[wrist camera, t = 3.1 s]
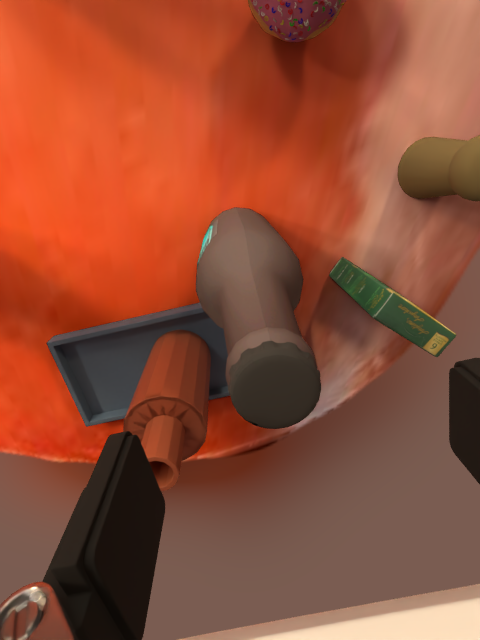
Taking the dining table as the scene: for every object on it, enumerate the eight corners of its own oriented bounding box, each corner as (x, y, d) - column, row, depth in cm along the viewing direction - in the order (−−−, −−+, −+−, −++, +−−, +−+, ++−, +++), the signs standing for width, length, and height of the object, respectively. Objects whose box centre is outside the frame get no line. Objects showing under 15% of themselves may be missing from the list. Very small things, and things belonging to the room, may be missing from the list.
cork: (421, 210, 40) (489, 223, 30) (385, 172, 39) (445, 172, 28) (465, 165, 39) (553, 163, 28) (430, 123, 37) (510, 105, 27)
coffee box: (394, 290, 44) (461, 336, 31) (378, 309, 44) (438, 361, 32) (342, 254, 42) (392, 288, 30) (326, 275, 42) (369, 316, 30)
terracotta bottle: (161, 386, 46) (125, 517, 29) (143, 336, 44) (92, 448, 26) (216, 374, 46) (214, 499, 29) (202, 323, 44) (189, 427, 26)
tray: (91, 417, 48) (86, 426, 46) (53, 335, 44) (46, 343, 42) (300, 371, 47) (303, 379, 45) (283, 283, 43) (286, 288, 41)
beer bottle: (193, 221, 39) (128, 341, 12) (259, 195, 39) (356, 258, 11) (219, 284, 42) (215, 500, 15) (281, 260, 42) (401, 441, 14)
